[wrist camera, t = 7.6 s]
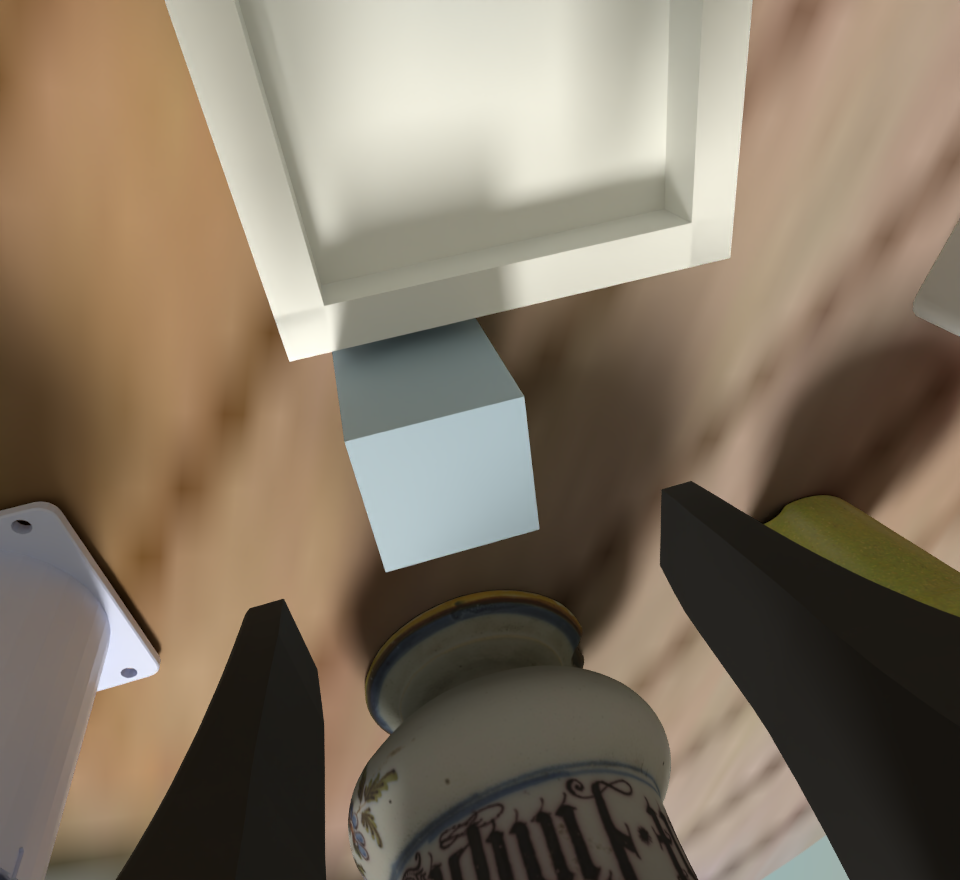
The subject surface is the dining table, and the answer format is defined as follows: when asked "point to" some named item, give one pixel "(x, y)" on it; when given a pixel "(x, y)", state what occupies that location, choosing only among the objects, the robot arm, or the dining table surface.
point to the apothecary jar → (509, 755)
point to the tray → (467, 150)
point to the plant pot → (869, 550)
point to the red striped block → (942, 288)
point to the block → (436, 442)
